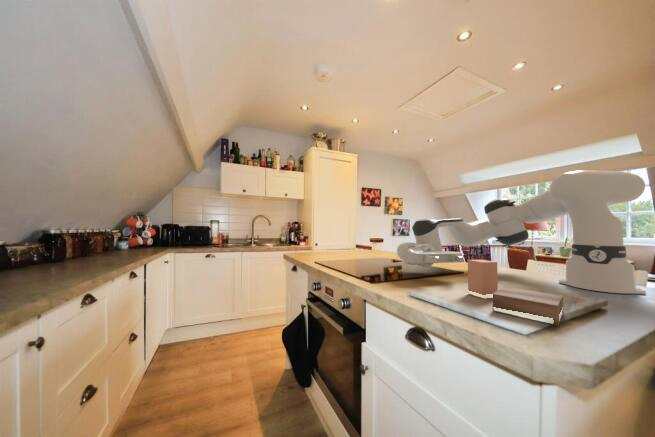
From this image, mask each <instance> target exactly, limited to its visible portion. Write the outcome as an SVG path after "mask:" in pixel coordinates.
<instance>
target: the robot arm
mask: <svg viewBox="0 0 655 437" xmlns="http://www.w3.org/2000/svg"><path fill="white" fill-rule="evenodd" d="M645 189H646V183H645V181H644V179H643V178H642V177H641V176H640V175H638V174H635V173H631V172H627V171H622V170H574V171H568V172H563V173H560V174H558V175H557V176H556V177H555V178H554V179H553V180H552V181H551V183H550V188H549V189H548V190H546V191H543V192H540V193H539V194H537V195H535V196H533V197H531V198H529V199H527V200H525V201H524V202H522V203H520V204H515V203H516V202H517V201H516V200H510V199H508V198H505V197H504V198H495V199H493V200H491V201H489V202H488V203H487V204H485V205H484V207H483V209H484V213H485V214H486V216H487V219H488V220H485V219H482V220H481V219H478V220H472V221H469V222H466V221H465V220H464V219H463V218H459V217H453V218H452V217H451V218H434V219H433V218H420V219H418V220H415V222H414V223H413V224H412V227H411V229H412V233H413V235H414V237H415V242H402V243H400V244H399V245H397V248H396V253H397V257H398V259H400V260H401V261H403V262H404V264H406V265H409V266H411V265H413V266H414V265H415V266H417V267H418V266H419V267H424V268H429V267H431V266H433V265H434V264H442V263H443V264H449V263H450V264H452V263H456V264H457V263H464V257H463V253H462V252H460V251H450V250H443V246H442V241H441V238H440V234H439V228H446V229H447V230H448V231H449V232H450V234H451V237H452V238H453V240H454V241H455V242H456V243H457V244H458V245H460V246H461V247H466V248H470V247H474V246H477V245H480V244H482V243H484V242H486V241H489V240H491V239H493V238H494V239H496V240H495V242H496V243H497V242H499V243H500V244H502V245H504V246H505V245H506V246H517V245H521V244H523V243H524V242H525V241H526V240H527V241H528V239H529V237H530V236H529V235H530V234H529V231H528V230H527V229H526V227H525V224H524V223H526V224H537V223H543V222H548V221H551V220H554V219H557V218H561V217H564V216H566V215H569V216H568V217H569V218H570V221H571V226H572V241H573V242H572V244H571V248H570V250H571V255H572V256H571V257H570V258H568V259H566V261H565V278H561V279H559V280H558V283H559V284H563V285H567V286H571V287H574V288H578V289H583V290H584V289H585V290H591V291H594V292H595V291H596V292H602V293H612V294H613V293H614V294H626V295H627V294H635V295H636V294H637V295H646V294H647V291H646V290H645V289H642V288H640V287H638V286H637V284H636V273H635V265H633V264H632V263H630V262H629V261H628V260H627V259H626V258H627V247H626V246H624V225H623V224H624V223H623V222H622V220H621V219H620V218H619V217H617V216H615V214H613V213H612V211H611V210H610V209H609V206H612V205H617V204H623V203H628V202H632V201H634V200H637V199H638V198H640V197H641V196H642V195H643V193H644V191H645Z"/></svg>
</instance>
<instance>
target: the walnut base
mask: <svg viewBox="0 0 655 437" xmlns="http://www.w3.org/2000/svg"><path fill="white" fill-rule="evenodd" d="M493 307H496V308H501V309H506V310H512V311H518V312H523V313H529V314H533V315H538V316H543V317H549V318H553V320H554V323H553V324H552V326H557V327H558V326H559V325H560V323H561V320H560V321H559V314H560V312H561V310H562V307H563V308H564V295H561V294H555V293H549V292H542V291H535V290H531V289H530V290H528V289H522V288H517V287H510V286H503V287H501V288H500V289H498V291H496V292H495V293H493V299H492V308H493Z"/></svg>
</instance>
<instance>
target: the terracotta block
mask: <svg viewBox="0 0 655 437" xmlns="http://www.w3.org/2000/svg"><path fill="white" fill-rule="evenodd" d="M498 279H499V278H498V261H493V260H487V259H468V260H467V291H468V290H469V291H472V292H476V293H479V294H482V295H486V294H493V293H495V292H496V291H498V290H499V289H498V284H499V283H498Z"/></svg>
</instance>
